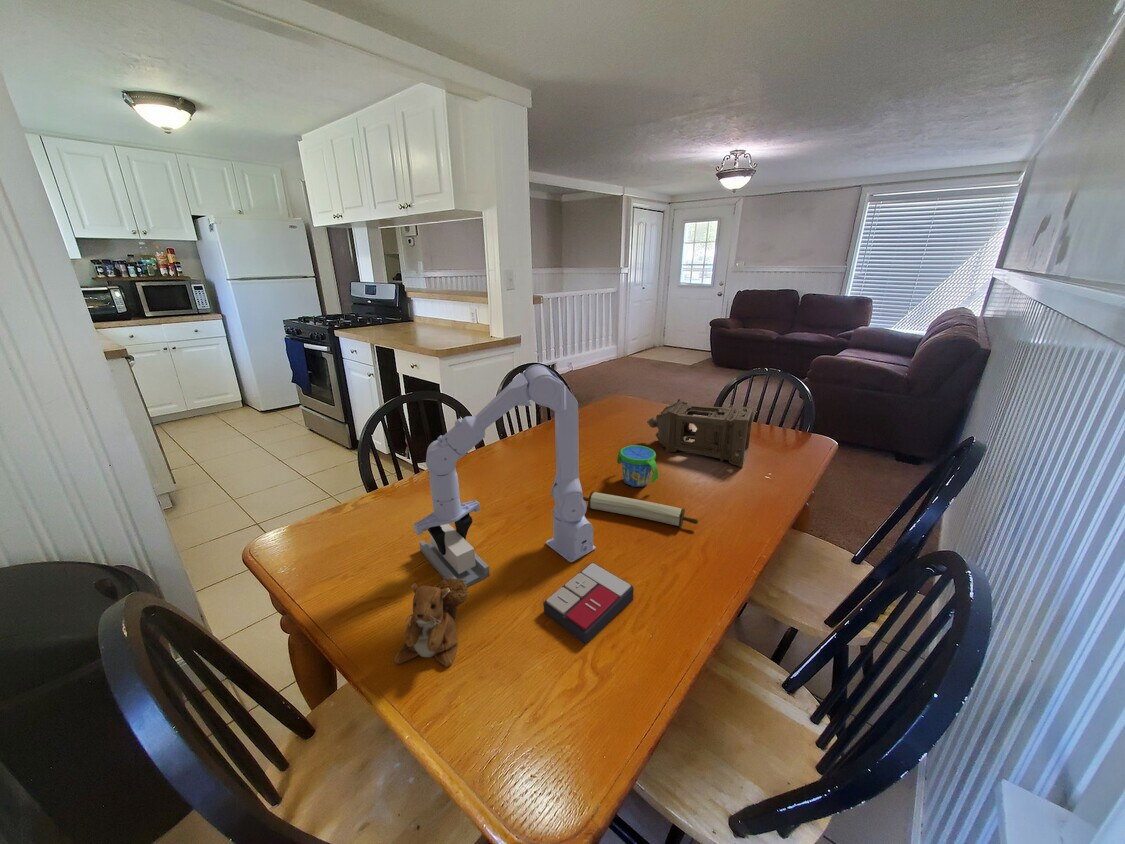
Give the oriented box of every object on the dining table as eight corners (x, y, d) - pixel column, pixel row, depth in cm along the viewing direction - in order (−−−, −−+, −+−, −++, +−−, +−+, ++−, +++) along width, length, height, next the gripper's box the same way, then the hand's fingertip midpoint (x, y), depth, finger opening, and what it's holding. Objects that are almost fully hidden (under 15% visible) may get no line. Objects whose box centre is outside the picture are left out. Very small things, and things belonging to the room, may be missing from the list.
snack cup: (666, 489, 127) (669, 458, 124) (637, 498, 123) (639, 466, 119) (634, 468, 140) (636, 439, 137) (607, 475, 136) (608, 446, 132)
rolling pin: (698, 524, 111) (700, 507, 109) (695, 536, 106) (698, 519, 104) (581, 500, 122) (581, 484, 121) (574, 509, 117) (574, 494, 116)
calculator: (541, 599, 82) (592, 558, 92) (543, 616, 84) (592, 574, 93) (585, 631, 75) (634, 583, 85) (586, 648, 77) (634, 599, 86)
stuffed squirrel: (391, 668, 72) (378, 607, 67) (430, 605, 85) (422, 551, 80) (446, 678, 70) (437, 616, 66) (478, 612, 83) (472, 557, 78)
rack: (489, 575, 93) (488, 566, 92) (455, 593, 88) (454, 583, 87) (451, 537, 106) (450, 528, 105) (420, 550, 101) (419, 541, 100)
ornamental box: (639, 454, 157) (639, 408, 149) (655, 432, 170) (655, 389, 162) (741, 473, 140) (747, 423, 132) (749, 447, 154) (755, 401, 146)
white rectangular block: (475, 565, 92) (474, 548, 91) (458, 574, 90) (456, 556, 88) (446, 535, 102) (444, 519, 101) (430, 542, 100) (428, 526, 98)
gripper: (467, 477, 98) (472, 527, 103) (404, 499, 89) (413, 553, 94) (483, 489, 93) (487, 541, 98) (418, 513, 84) (426, 569, 89)
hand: (451, 548), depth 96 cm, fingers closed on white rectangular block, 4 cm apart
